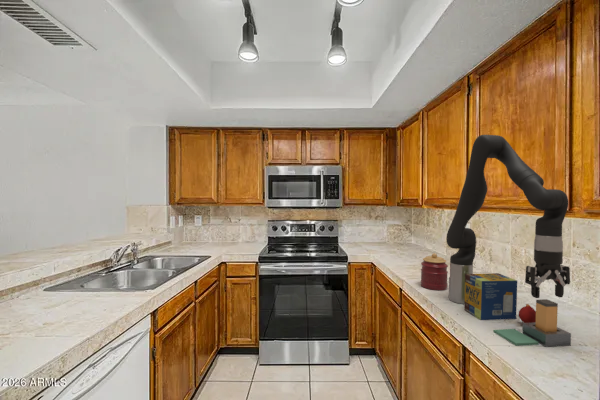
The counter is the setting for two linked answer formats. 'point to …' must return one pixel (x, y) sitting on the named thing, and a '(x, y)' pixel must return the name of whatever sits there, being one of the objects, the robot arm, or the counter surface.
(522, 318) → the red onion
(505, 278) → the protein box
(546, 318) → the plug
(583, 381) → the counter surface
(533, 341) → the mat
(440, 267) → the canister
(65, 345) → the counter surface
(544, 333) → the gray square frame
